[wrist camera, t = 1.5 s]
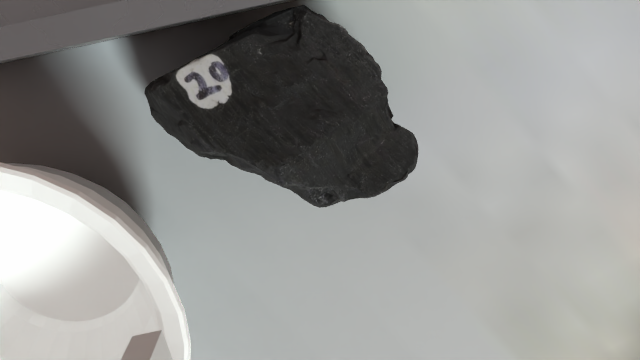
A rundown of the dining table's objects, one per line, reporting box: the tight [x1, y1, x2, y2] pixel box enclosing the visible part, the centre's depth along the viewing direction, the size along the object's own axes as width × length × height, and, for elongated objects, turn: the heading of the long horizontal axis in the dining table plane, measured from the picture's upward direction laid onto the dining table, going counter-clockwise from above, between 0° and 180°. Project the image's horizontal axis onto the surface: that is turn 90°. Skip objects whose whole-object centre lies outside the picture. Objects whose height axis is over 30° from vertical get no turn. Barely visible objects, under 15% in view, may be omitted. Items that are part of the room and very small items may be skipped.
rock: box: [145, 5, 418, 207], centre depth 23 cm, size 11×8×10 cm
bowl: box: [0, 162, 191, 360], centre depth 23 cm, size 16×16×9 cm
